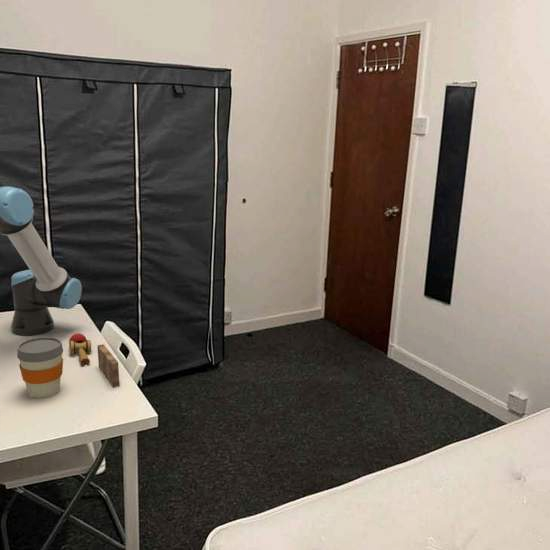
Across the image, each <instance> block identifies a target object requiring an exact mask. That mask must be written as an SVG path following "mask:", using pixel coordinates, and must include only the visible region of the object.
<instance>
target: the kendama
mask: <svg viewBox="0 0 550 550" xmlns="http://www.w3.org/2000/svg"><path fill="white" fill-rule="evenodd" d="M68 352H69V354H71V355H72V354H74V353H76V352H78V357H79V362H80V365H81V366H83V367H86V366H85V365H87V366H88V365H90V358H89V357H88V354H91V352H92V341H91V339H87V336H85V335H84V334H82V333H74V334H73V335H71V336H70V338H69V340H68Z"/></svg>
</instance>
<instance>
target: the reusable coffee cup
mask: <svg viewBox="0 0 550 550" xmlns="http://www.w3.org/2000/svg"><path fill="white" fill-rule="evenodd" d="M16 353H17V359H18V360H19V365H18V366H19V370H20V374H21V378H22V380H23V381H24V383H25V386H26V391H27V394H28V396H29V395H30V396H29V397H31V398H34V397H35V399H43V398H49V397H52V396H54V395H57V394H58V393H59V392H60V390H61V378H62V375H63V369H64V368H63V366H64V358H63V353H64V347H63V343H62V341H61V339H59V338H57V337H51V336H41V337H39V336H38V337H35V338H34V337H33V338H31V339H27V340H25V341H22V342H20V343H19V344H18V345H17V352H16ZM57 392H58V393H57Z"/></svg>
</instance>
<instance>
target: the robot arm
mask: <svg viewBox="0 0 550 550" xmlns="http://www.w3.org/2000/svg"><path fill="white" fill-rule="evenodd" d="M33 207H34V203H33V199H32V197H31V196H30V195H29V193H27V192H26V191H25V190H24V189H22V188H18V187H13V186H0V234H1V235H3V236H7V237H8V239H9V240H10V242H11V243H12V246H14V248H15V249H16V251H17V252H18V254H19V255H20V257H21V258H22V260H23V261H24V263H25V264H26V266H27V267H28V269H26V270H21V271H18V272H15V273H13V275H12V276H11V285H10V286H11V292H12V299H13V306H14V307H13V308H14V314H13V317H12V321H11V324H10V325H11V326H10V328H11V332H12V334H15V335H18V336H36V335H40V334H44V333H48V332H51V330H53V329H54V327H55V323H54V319H53V316H52V315H51V312H50V310H49V308H48V307H50V308H54V309H55V308H56V309H62V310H70V309H73V308H74V307H75V306H77V305H78V303H79V302H80V299H81V296H82V290H83V289H82V288H83V286H82V283H81V281H80V279H77V278H76V277H71V276H70V275H69V274H68V272H67V270H66V269H64V268H63V267H60V266H58V264H57V262H56V261H55V259H54V257H53V255H52V254H51V253H50V251H49V249H48V247H47V246H46V244H45V243H44V241H43V240H42V238H41V236H40V235H39V232H38V231H37V230H36V228H35V226H34V225H33V223H32V222H33V219H34V218H33V217H34V213H35V210H34V208H33Z"/></svg>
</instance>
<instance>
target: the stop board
mask: <svg viewBox="0 0 550 550" xmlns="http://www.w3.org/2000/svg"><path fill="white" fill-rule="evenodd" d="M96 348H97V361H98V368H99V370H100V372H101V373H102V374H103V375H105V376H104V377H105V379H106V380H107V381H108V382H109V384H110V385H111V387H112V388H117V387H120V372H119V371H120V370H119V362H118V360H117V359H116V358H115V356H114V355H113V354H112V353H111V351H110V350H109V349H108V348H107V347H106V346H105V344H104V343H102V344H97V347H96Z"/></svg>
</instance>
